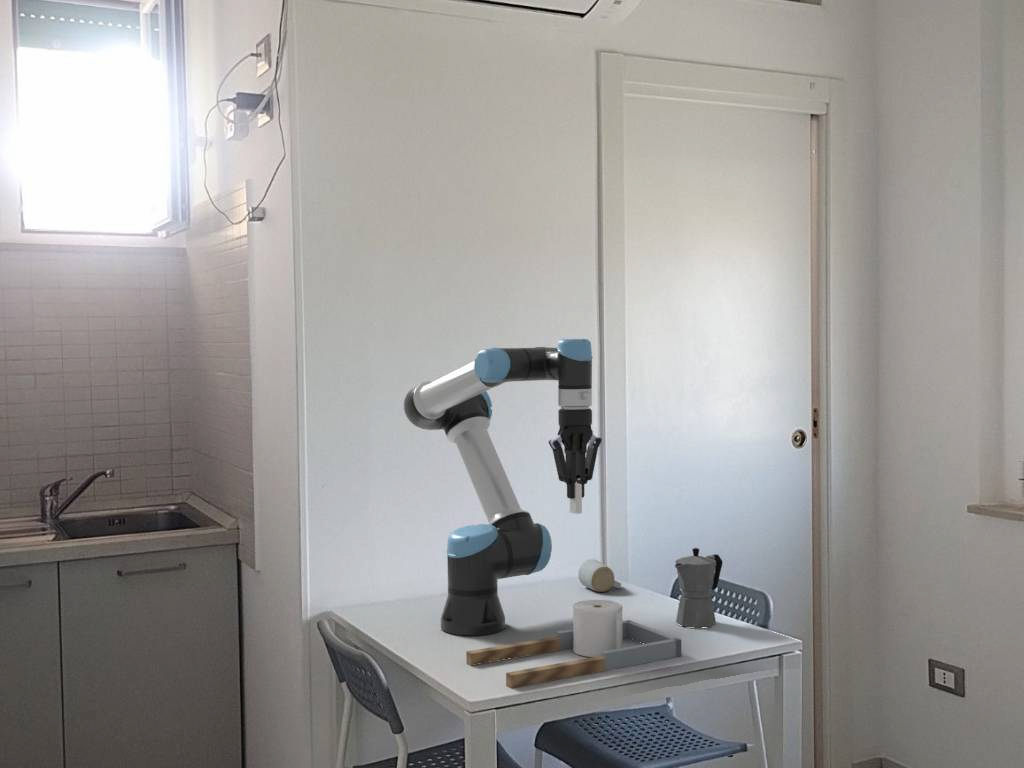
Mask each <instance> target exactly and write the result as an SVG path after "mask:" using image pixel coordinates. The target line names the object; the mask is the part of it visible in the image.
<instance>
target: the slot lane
mask: <svg viewBox="0 0 1024 768" xmlns="http://www.w3.org/2000/svg"><path fill="white" fill-rule="evenodd" d="M558 651H562V649H561V639H560V638H558V637H556V636H552V637H545V638H540V639H538V638H537V639H534V640H533V639H532V640H527V641H522V642H516V643H509V644H504V645H496V646H492V647H490V646H489V647H484V648H478V649H474V650H473V649H472V650H467V651H466V652H465V653H466V662H467V663H469V664H470V665H472V666H474V665H473V664H478V663H484V664H486V663H485V662H489V661H496V662H498V661H497V660H501V661H504V660H503V659H507V660H509V659H508V658H513V659H515V658H514V657H519V658H522V657H521V656H524V657H528V656H527V655H530V656H535V655H534V654H536V655H540V653H542V654H547V653H553V652H558ZM467 663H466V664H467ZM469 664H468V665H469ZM470 665H469V666H470ZM478 665H479V664H478ZM605 671H606V670H605V658H603V657H601V656H596V657H586V658H581V659H576V660H575V659H574V660H570V661H569V660H568V661H564V662H559V663H554V664H548V665H542V666H536V667H532V668H531V667H530V668H526V669H520V670H514V671H509V672H505V685H506V687H508V688H509V689H514V688H519V687H524V686H525V687H527V686H530V685H536V684H540V683H545V682H547V683H548V682H552V681H556V680H563V679H567V678H572V677H579V676H585V675H589V674H593V673H599V672H605Z"/></svg>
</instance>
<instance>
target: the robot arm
mask: <svg viewBox="0 0 1024 768" xmlns="http://www.w3.org/2000/svg"><path fill="white" fill-rule="evenodd" d="M592 360H593V351H592V343H591V341H590V340H589V339H587V338H562V339H559V340H558V342H557V347H550V346H549V347H546V346H535V347H508V348H507V347H501V348H500V347H491V348H485V349H481V350H479V352H477V355H476V356H475V358H474V360H473V361H472V362H470V363H467V364H466V365H464V366H462V367H461V366H460V367H459V368H458V369H455V370H454V371H451V372H450V373H448V374H445V375H444V376H441V377H440V378H438V379H436V380H434V381H430V380H427V381H423V382H421V383H419V384H416V385H415V386H414V387H412V388H411V389H409V391H408V392H407V393H406V395H405V397H404V400H403V410H404V414H405V416H406V418H407V419H408V420H409V422H410V423H411V424H412V425H413V426H415V427H417V428H420V429H422V430H427V431H432V430H433V431H434V430H435V431H436V430H437V431H440V430H443V431H444V433H445V435H446V438H447V440H448V441H449V442H451V443H452V444H453V443H454V444H455V445H456V446H457V449H458V451H459V455H460V457H461V459H462V461H463V464H464V466H465V468H466V469H465V470H466V471H467V474H468V477H469V478H470V481H471V483H472V486H473V488H474V490H475V492H476V495H477V497H478V500H479V502H480V505H481V507H482V509H483V512H484V514H485V516H486V519H487V522H488V524H487V523H486V524H485V523H484V524H483V523H481V524H472V525H471V524H470V525H465V526H462V527H458V528H457V529H455V530H453V531H451V532H450V534H449V535H448V537H447V546H446V547H447V549H446V555H447V597H446V600H445V604H444V605H443V606H444V608H443V611H442V613H441V617H440V629H441V631H443V632H446V633H449V634H451V635H456V636H457V635H459V636H483V635H484V636H485V635H490V634H495V633H499V632H501V631H503V630H505V628H506V615H505V613H504V609H503V606H502V604H501V601H500V600H501V599H500V597H499V594H498V593H499V592H498V590H499V589H498V584H499V583H498V582H499V581H498V580H500V579H501V580H502V579H508V578H513V577H514V578H515V577H519V576H529V575H532V574H534V573H539V572H542V571H543V570H544V569H545V568H546V567H547V565H548V564H549V563H550V560H551V557H552V550H553V549H552V548H553V542H552V537H551V534H550V532H549V531H550V530H548V528H547V526H545V525H543V524H541V523H539V522H537V523H534V520H533V518H532V516H531V513H530V512H529V511H527V510H524V509H522V508H521V506H520V503H519V502H518V499H517V496H516V494H515V492H514V489H513V487H512V485H511V483H510V482H511V481H509V478H508V475H507V474H506V473H507V472H506V471H505V468H504V466H503V464H502V461H501V459H500V457H499V455H498V452H497V450H496V448H495V445H494V442H493V441H492V439H491V436H490V434H489V432H488V430H489V427H490V425H491V419H492V416H493V409H492V407H493V404H492V403H493V402H492V400H491V398H490V395H489V393H488V392H487V391H489V390H491V389H492V390H493V388H496V387H498V386H500V385H503V384H504V383H508V382H531V381H532V382H533V381H534V382H535V381H557V382H558V386H557V388H558V389H557V390H558V391H557V393H558V394H557V396H558V398H557V404H558V405H557V406H558V407H560V408H559V409H558V411H557V413H558V418H557V419H558V426H559V429H558V432H557V436H556V437H554V438H553V439H549V440H548V445H549V447H550V448H551V450H552V454H553V459H554V463H555V467H556V472H557V477H558V480H559V481H560V482H563V483H565V484H566V497H567V499H569V513H572V514H577V515H579V514H582V513H583V507H582V506H583V499H584V498H585V485H586V484H588V481H592V479H593V476H594V470H595V467H596V466H595V465H596V460H597V455H598V449H599V447H600V445H601V443H602V441H603V439H602V437H598V436H596V435H594V431H593V429H592V425H593V409H591V408H590V407H592V405H593V394H592V392H593V389H592V388H593V387H592V386H593V385H592V383H593V374H592V373H593V367H592V366H593V361H592ZM563 447H564V448H563Z"/></svg>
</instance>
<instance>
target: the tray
mask: <svg viewBox="0 0 1024 768" xmlns="http://www.w3.org/2000/svg"><path fill="white" fill-rule="evenodd" d="M622 623H623V624H622V626H623V628H622V630H623V639H629V638H630V640H632V639H633V640H632V641H634V640H636V641H635V642H637V641H638V642H637V643H639V642H641V643H640V644H637V645H630V646H624V647H623V648H619V649H613V650H607V651H602V652H601V657H603V658H605V671H609V670H614V669H620V668H625V667H631V666H634V665H635V666H636V665H642V664H645V663H651V662H657V661H663V660H667V659H672V658H673V659H674V658H678V657H679V658H680V657H682V639H681V638H677V637H675V636H674V635H673V636H672V635H670V634H668V633H665V632H662V631H659V630H656V629H654V628H651V627H649V626H646V625H643V624H640V623H638V622H636V621H633V620H629V619H628V620H626V619H625V620H622ZM555 637H558V638H560V639H561V650H564V649H570V648H573V628H572V629H566V630H560V631H555ZM627 637H628V638H627ZM642 643H644V644H642Z"/></svg>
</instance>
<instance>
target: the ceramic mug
mask: <svg viewBox="0 0 1024 768" xmlns="http://www.w3.org/2000/svg"><path fill="white" fill-rule="evenodd" d="M578 579H579V582H580V583H581V585H582V586H584V587H586V588H588V589H591V590H593V591H595V592H597V593H604V592H607V591H609V590H610V589H611V588H612V587H613V588H616V589H618V590H619V589H620V588H621V586H622V583H621V582H620V581H618V580H615V574H614V571H613V570H612V568H610V567H609V566H608V565H606V564H604V563H602V562H601V561H599V560H597V559H595V558H590V559H587V560H585V561H583V562H582V563H581V565H580V566H579V568H578Z"/></svg>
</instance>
